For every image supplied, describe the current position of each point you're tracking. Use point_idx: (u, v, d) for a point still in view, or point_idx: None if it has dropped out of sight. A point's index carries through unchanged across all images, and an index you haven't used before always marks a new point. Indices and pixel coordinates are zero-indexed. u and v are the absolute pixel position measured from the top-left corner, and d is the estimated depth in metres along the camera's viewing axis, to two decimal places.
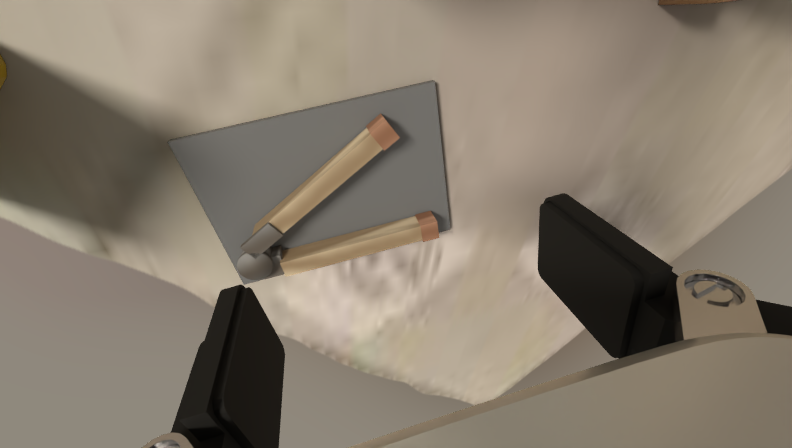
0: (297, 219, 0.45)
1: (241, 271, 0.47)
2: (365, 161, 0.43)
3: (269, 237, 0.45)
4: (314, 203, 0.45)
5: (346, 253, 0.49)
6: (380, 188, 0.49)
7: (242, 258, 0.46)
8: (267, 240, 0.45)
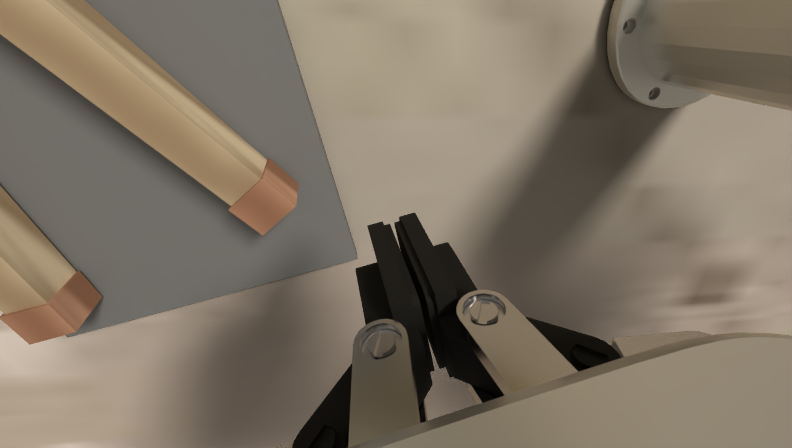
0: None
1: None
2: (192, 171, 0.19)
3: None
4: (8, 30, 0.14)
5: None
6: (127, 194, 0.22)
7: None
8: None
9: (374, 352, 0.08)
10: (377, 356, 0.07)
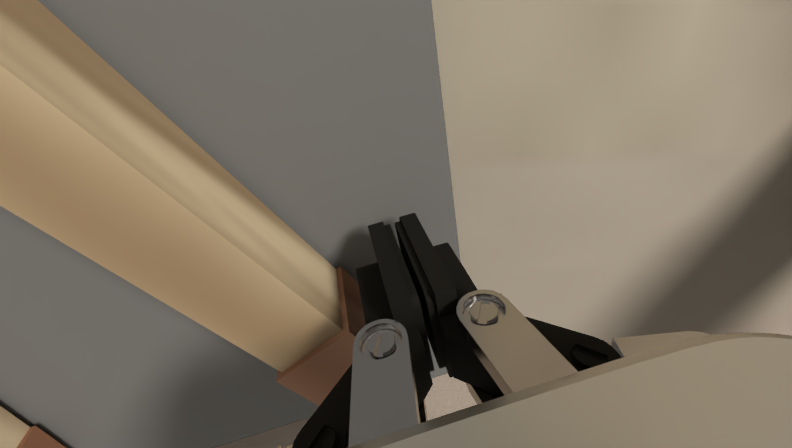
0: None
1: None
2: (217, 325, 0.09)
3: None
4: None
5: None
6: (118, 305, 0.12)
7: None
8: None
9: (374, 352, 0.08)
10: (377, 356, 0.07)
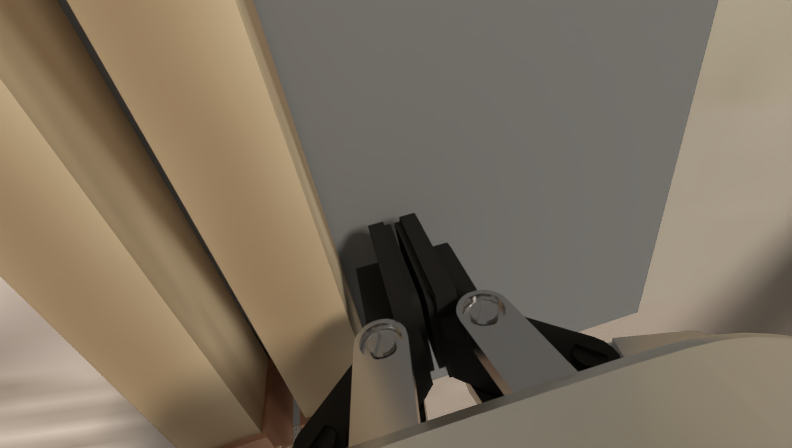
0: None
1: None
2: (286, 367, 0.10)
3: None
4: (125, 58, 0.06)
5: None
6: None
7: None
8: None
9: (374, 352, 0.08)
10: (377, 356, 0.07)
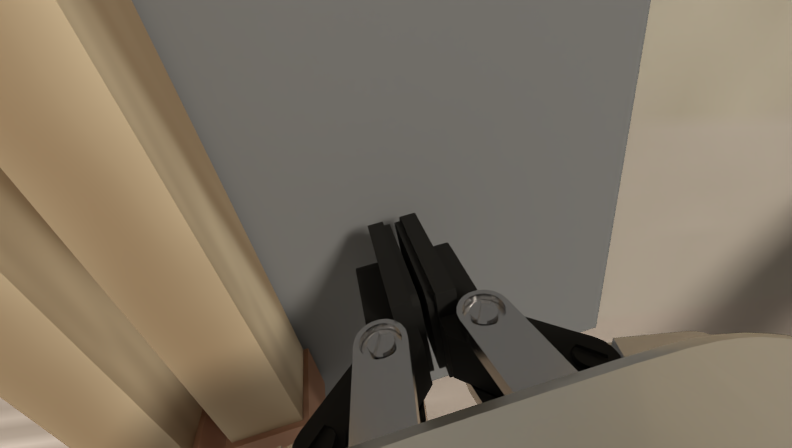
0: None
1: None
2: (202, 395, 0.10)
3: None
4: None
5: None
6: (314, 254, 0.13)
7: None
8: None
9: (374, 352, 0.08)
10: (377, 356, 0.07)
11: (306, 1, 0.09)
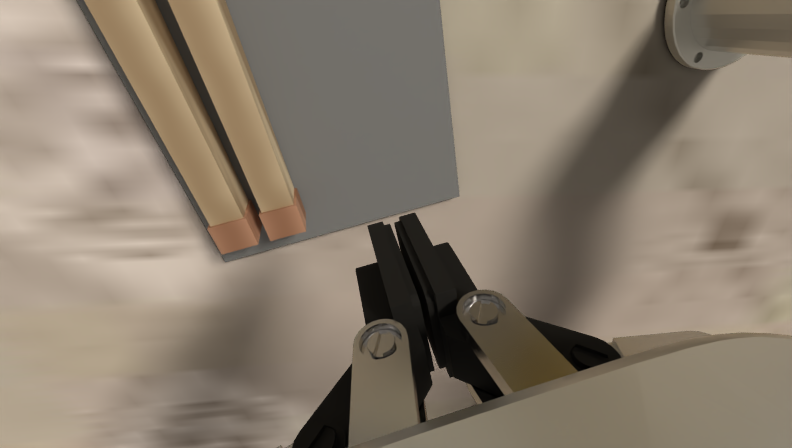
0: None
1: None
2: (251, 180, 0.25)
3: None
4: (197, 51, 0.21)
5: (142, 64, 0.20)
6: (299, 133, 0.27)
7: None
8: None
9: (374, 352, 0.08)
10: (377, 356, 0.07)
11: (294, 17, 0.24)
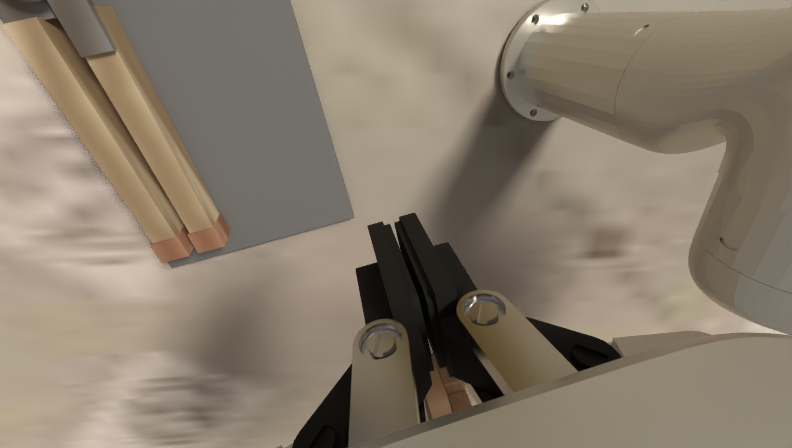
0: (108, 91, 0.29)
1: None
2: (179, 211, 0.35)
3: (83, 35, 0.26)
4: (132, 129, 0.31)
5: (95, 138, 0.30)
6: (219, 174, 0.37)
7: None
8: (77, 28, 0.26)
9: (374, 352, 0.08)
10: (377, 356, 0.07)
11: (206, 98, 0.34)
